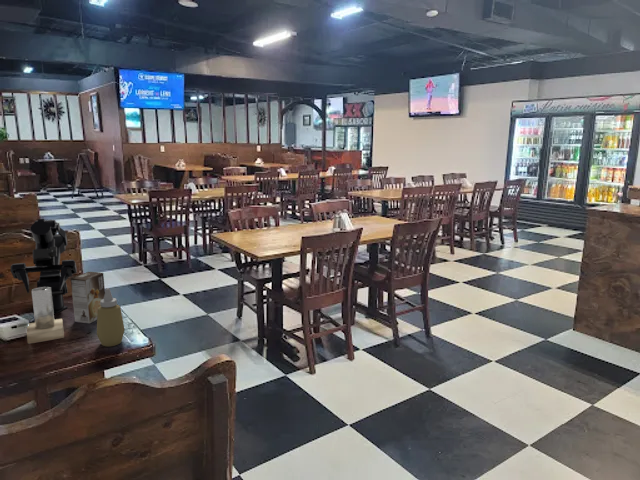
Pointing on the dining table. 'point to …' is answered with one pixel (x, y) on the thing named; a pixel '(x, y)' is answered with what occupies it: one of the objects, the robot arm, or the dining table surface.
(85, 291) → the coffee box
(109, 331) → the squeeze bottle
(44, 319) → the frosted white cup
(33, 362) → the dining table surface
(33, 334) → the block
